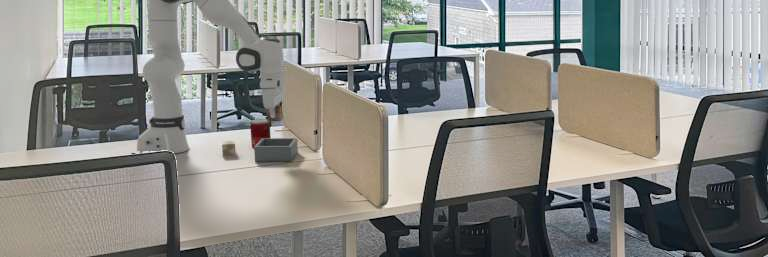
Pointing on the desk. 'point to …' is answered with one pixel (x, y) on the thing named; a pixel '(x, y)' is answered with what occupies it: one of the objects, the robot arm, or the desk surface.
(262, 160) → the bin
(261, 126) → the canned food
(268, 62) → the robot arm
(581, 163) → the desk surface
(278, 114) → the walnut block
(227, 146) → the oak block
